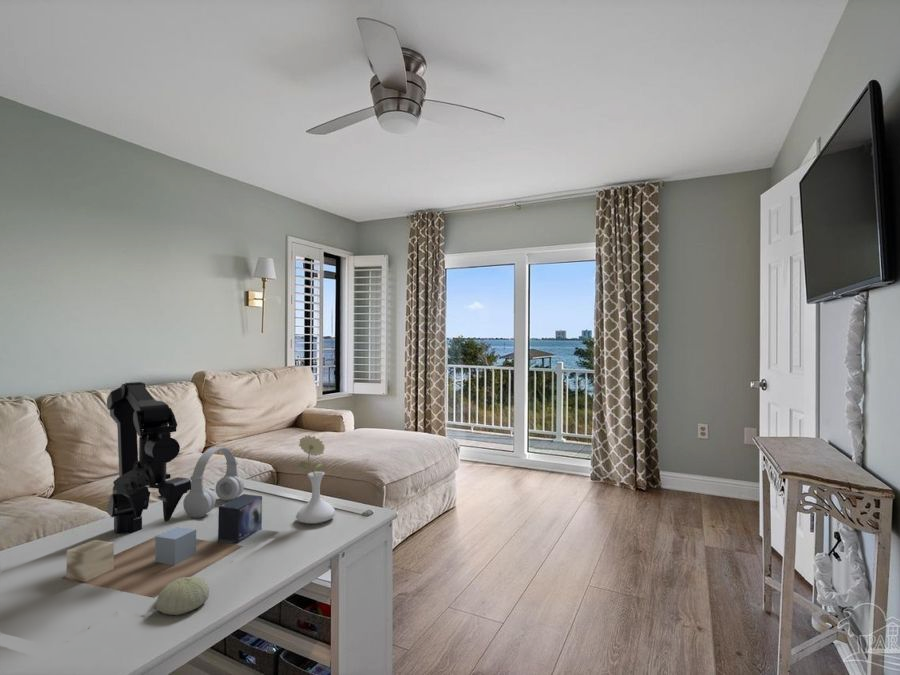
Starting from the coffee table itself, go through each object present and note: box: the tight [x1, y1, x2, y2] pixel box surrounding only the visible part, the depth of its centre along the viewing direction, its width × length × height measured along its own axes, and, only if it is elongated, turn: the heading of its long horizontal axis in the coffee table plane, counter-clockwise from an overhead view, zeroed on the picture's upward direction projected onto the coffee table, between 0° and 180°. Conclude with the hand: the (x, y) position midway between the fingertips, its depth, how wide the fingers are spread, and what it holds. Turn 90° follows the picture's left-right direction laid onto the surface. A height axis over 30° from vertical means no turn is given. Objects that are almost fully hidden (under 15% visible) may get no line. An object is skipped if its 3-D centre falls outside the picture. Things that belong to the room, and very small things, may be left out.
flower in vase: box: [295, 435, 336, 525], centre depth 138 cm, size 13×11×25 cm
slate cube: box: [154, 526, 197, 565], centre depth 111 cm, size 6×6×6 cm
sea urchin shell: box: [155, 576, 210, 616], centre depth 93 cm, size 9×8×8 cm
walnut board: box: [60, 536, 244, 599], centre depth 109 cm, size 27×25×1 cm
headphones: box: [183, 446, 245, 519], centre depth 149 cm, size 20×8×19 cm, turn 172°
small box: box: [217, 493, 263, 544], centre depth 124 cm, size 11×6×10 cm, turn 168°
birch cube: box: [65, 539, 115, 582], centre depth 103 cm, size 6×6×6 cm
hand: (152, 519), depth 113 cm, fingers open, 9 cm apart
